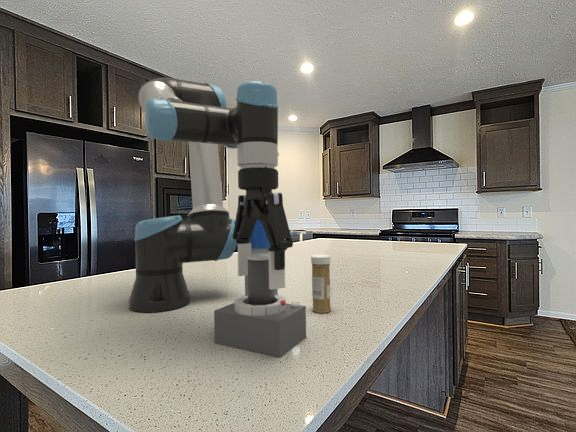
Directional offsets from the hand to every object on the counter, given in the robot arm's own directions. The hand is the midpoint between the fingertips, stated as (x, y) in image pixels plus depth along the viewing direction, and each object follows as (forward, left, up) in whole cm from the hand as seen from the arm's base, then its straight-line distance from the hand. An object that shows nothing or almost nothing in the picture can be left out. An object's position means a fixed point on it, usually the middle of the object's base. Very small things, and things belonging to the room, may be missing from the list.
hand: (259, 281), depth 64 cm
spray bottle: (-16, +24, -11) cm, 31 cm away
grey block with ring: (0, 0, -11) cm, 11 cm away
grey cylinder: (0, 0, -5) cm, 5 cm away
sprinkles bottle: (+3, +22, -11) cm, 25 cm away
